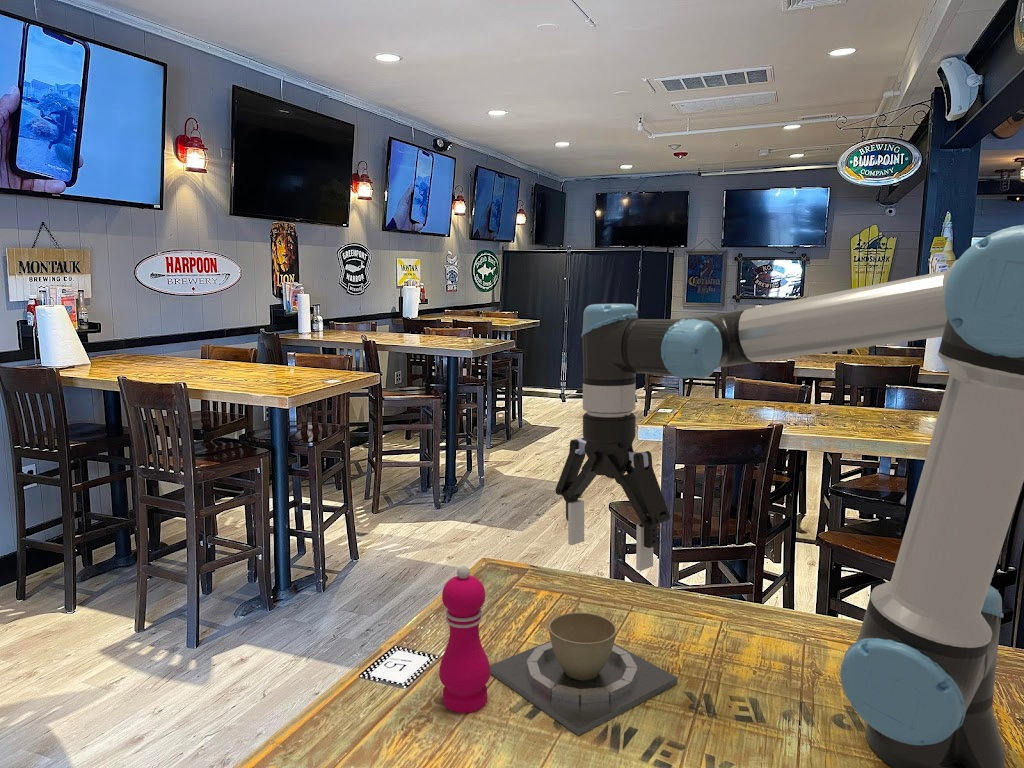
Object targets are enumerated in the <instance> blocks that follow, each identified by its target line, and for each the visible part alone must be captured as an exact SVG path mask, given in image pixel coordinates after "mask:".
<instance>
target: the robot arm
mask: <svg viewBox="0 0 1024 768" xmlns="http://www.w3.org/2000/svg"><path fill="white" fill-rule="evenodd" d="M582 317H583V318H582V332H581V335H580V336H581V344H582V345H581V347H582V365H583V366H582V368H583V369H582V370H583V376H582V410H583V411H585V413H584V414H583V415H582V437H579V438H574V439H570V442H569V449H568V455H567V458H566V460H565V463H564V466H563V467H562V471H561V473H560V477H559V479H558V482H557V484H556V487H555V493H556V495H557V496H561V497H563V499H564V501H565V518H566V521H567V531H568V532H567V533H568V537H567V538H568V540H567V543H568V545H570V546H574V545H577V544H580V543H583V542H585V500H584V499H581V498H583V497H584V496H583V493H584V492H585V491H586V490H587V489H588V487H589V486H590V484H591V483H592V482H593V480H594V479H595V478H596V477H597V476H605V477H606V478H608V479H614V480H615V482H616V484H618V485H620V486H621V488H622V491H623V492H624V493H625V495H626V497H627V499H628V500H629V501H628V502H629V503H630V505H631V506H632V508H633V509H634V512H635V513H636V515H637V517H638V519H639V521H640V522H639V523H637V524H636V536H635V537H636V540H635V541H636V544H635V545H636V548H635V549H636V556H635V558H636V560H635V563H636V565H635V567H636V569H635V570H637V571H639V572H641V571H644V570H647V569H649V568H652V567H654V547H656V546H657V544H658V525H659V524H662V523H666V522H669V520H670V519H671V515H670V512H669V510H668V507H667V504H666V500H665V499H664V495H663V493H662V490H661V487H660V483H659V481H658V479H657V476H656V474H655V470H654V468H653V460H652V459H653V455H652V453H651V451H649V450H645V451H641V452H638V451H634V448H633V443H634V439H635V438H636V433H637V432H636V428H637V427H636V425H637V424H636V420H637V419H636V418H637V417H636V415H635V414H634V413H633V411H635V410H636V391H637V390H636V389H637V388H636V383H637V382H636V381H637V374H646V375H647V374H648V375H655V376H665V377H676V378H679V379H683V380H684V379H689V378H692V379H693V378H694V379H697V378H698V379H705V378H709V377H710V376H711V375H712V374H713V373H714V371H716V370H717V368H725V367H732V366H739V365H743V364H752V363H757V362H765V361H771V360H778V359H786V358H794V357H801V356H808V355H816V354H824V353H832V352H837V351H846V350H853V349H860V348H868V347H874V346H875V347H877V346H883V345H889V344H891V345H892V344H898V343H905V342H914V341H919V340H922V341H923V340H927V339H935V338H941V342H940V344H939V349H938V352H937V355H938V357H939V359H940V360H941V361H942V363H943V365H944V366H945V367H946V369H947V370H948V374H949V376H948V380H947V383H946V387H945V389H944V394H943V396H942V397H943V398H942V400H941V404H940V407H939V411H938V414H937V418H936V421H935V425H934V428H933V431H932V432H933V433H932V435H931V439H930V442H929V447H928V450H927V453H926V456H925V459H924V464H923V468H922V471H921V473H920V477H919V481H918V485H917V488H916V492H915V495H914V498H913V501H912V506H911V509H910V513H909V516H908V520H907V523H906V526H905V531H904V533H903V536H902V540H901V544H900V547H899V551H898V555H897V558H896V562H895V565H894V568H893V572H892V576H891V579H890V581H888V582H885V583H882V584H879V585H877V586H875V587H874V588H872V591H871V592H870V596H869V599H868V604H867V605H866V610H865V613H864V617H863V621H862V625H861V627H860V632H859V634H858V636H857V639H856V641H855V642H854V643H852V644H851V645H850V646H849V647H848V648H847V650H846V651H845V653H844V656H843V659H842V661H841V666H840V674H839V676H840V682H841V683H840V684H841V686H842V689H843V693H844V694H845V697H846V699H847V700H848V701H849V702H850V704H851V706H853V709H854V711H855V713H856V714H857V715H858V716H859V717H860V718H861V719H862V720H863V721H864V722H865V723H866V726H865V727H866V728H865V735H866V740H867V742H868V745H869V747H870V748H871V750H872V751H873V752H874V753H875V754H876V755H877V756H878V758H880V759H881V760H882V761H883V762H885V763H886V764H888V765H889V766H890V767H892V768H1005V760H1006V756H1005V755H1006V754H1005V749H1004V745H1003V742H1002V738H1001V734H1000V731H999V727H998V724H997V721H996V716H995V714H994V713H995V712H994V710H993V704H994V703H993V702H994V691H995V685H996V684H995V682H996V675H997V674H996V673H997V665H998V664H997V662H998V651H999V642H1000V641H999V640H1000V631H1001V622H1002V621H1001V619H1003V618H1004V616H1005V615H1004V613H1003V598H1002V596H1001V593H999V591H998V590H997V589H996V588H995V587H993V586H992V585H991V583H992V579H993V578H994V577H993V576H994V574H995V570H996V567H997V564H998V561H999V559H1000V558H999V557H1000V554H1001V552H1002V548H1003V545H1004V542H1005V539H1006V536H1007V533H1008V530H1009V528H1010V527H1009V526H1010V523H1011V521H1012V518H1013V514H1014V512H1015V509H1016V506H1017V503H1018V501H1019V496H1020V493H1021V491H1022V487H1023V483H1024V224H1022V225H1021V224H1020V225H1014V226H1010V227H1007V228H1003V229H999V230H997V231H995V232H992V233H990V234H989V235H987V236H985V237H983V238H982V239H980V240H978V241H976V242H975V243H973V245H971V246H970V247H969V248H967V249H966V250H965V251H964V252H963V253H962V255H961V256H959V258H958V259H956V260H955V261H954V262H953V263H952V264H951V265H950V267H948V269H946V270H943V271H938V272H933V273H927V274H923V275H917V276H913V277H907V278H903V279H897V280H892V281H888V282H880V283H877V284H871V285H867V286H866V285H865V286H861V287H855V288H851V289H846V290H840V291H835V292H830V293H826V294H825V293H824V294H819V295H815V296H809V297H805V298H799V299H793V300H788V301H783V302H778V303H772V304H768V305H763V306H758V307H752V308H747V309H743V310H736V311H731V312H726V313H721V314H715V315H707V316H697V317H683V318H682V317H681V318H670V319H668V318H667V319H665V318H662V319H661V318H656V319H655V318H654V319H653V318H652V319H651V318H650V319H649V318H647V319H645V318H639V317H638V314H637V307H636V305H634V304H632V303H595V304H593V303H592V304H590V305H587V306H586V307H585V308H584V311H583V316H582ZM586 457H587V460H586V461H585V462H584V460H585V458H586ZM583 463H584V464H583Z"/></svg>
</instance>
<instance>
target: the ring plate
mask: <svg viewBox="0 0 1024 768" xmlns="http://www.w3.org/2000/svg"><path fill="white" fill-rule="evenodd" d="M490 676H493V677H494V678H496V679H497V680H498V681H500V682H501V683H503V684H504V685H505V686H507V687H508V688H509V689H511V690H512V691H514V692H516V693H517V694H518V695H520V696H521V697H522V698H524V699H525V700H526V701H529V702H530V703H531V704H533V705H534V706H536V707H537V708H538V709H539V710H541V711H542V712H543V713H545V714H547V715H548V716H549V717H550V718H552V719H554V720H555V721H557V722H558V723H559V724H561V725H562V726H564V727H565V728H566V729H567V730H569V731H571V732H572V733H574V734H575V735H576V736H578V737H580V736H582V735H584V734H586V733H588V732H589V731H591V730H593V729H595V728H596V727H595V726H597V727H599V726H601V725H602V724H601V723H603V722H605V723H606V722H608V721H610V720H612V719H614V718H616V717H617V715H618V716H619V714H620V715H621V713H622V714H623V713H625V712H627V711H629V710H631V709H633V708H635V707H637V706H638V705H640V704H642V703H644V702H646V701H648V700H649V699H651V698H653V697H655V696H657V695H659V694H661V693H663V692H666V690H669V689H670V688H673V687H674V686H676V685H678V681H679V680H678V679H679V678H678V676H676V675H674V674H672V673H670V672H669V671H667V670H665V669H663V668H660V667H659V666H657V665H655V664H653V663H651V662H649V661H647V660H646V659H644V658H642V657H640V656H638V655H637V654H635V653H633V652H630V651H629V650H627V649H625V648H623V647H622V646H619V645H617V644H616V643H614V645H613V648H612V651H611V653H610V656H609V658H608V660H607V662H606V664H605V665H604V667H603V669H602V670H601V671H600V673H599V674H598V675H597V676H596V677H595V678H593V679H590V680H576V679H573V678H571V677H569V676H568V675H566V673H565V672H564V670H563V669H562V667H561V665H560V664H559V662H558V660H557V658H556V655H555V653H554V650H553V647H552V643H551V640H549V641H546V642H544V643H542V644H539V645H537V646H534V647H532V648H530V649H528V650H527V649H526V650H525V651H522V652H520V653H517V654H515V655H512V656H509V657H507V658H505V659H502V660H500V661H498V662H495V663H492V664H490ZM636 705H637V706H636ZM613 717H614V718H613ZM609 719H610V720H609ZM607 720H608V721H607ZM600 724H601V725H600ZM603 724H604V723H603ZM598 725H599V726H598ZM594 727H595V728H594ZM592 728H593V729H592ZM588 730H589V731H588ZM587 731H588V732H587ZM585 732H586V733H585ZM583 733H584V734H583Z"/></svg>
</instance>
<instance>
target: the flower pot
mask: <svg viewBox="0 0 1024 768" xmlns="http://www.w3.org/2000/svg"><path fill="white" fill-rule="evenodd" d="M616 626H617V625H615V623H614V622H613V621H611V620H610V619H609V618H607V617H605V616H602V615H601V614H597V613H591V612H583V611H580V612H577V611H576V612H568V613H562V614H559V615H557V616H555V617H554V618H552V619H551V620H550V621H549V624H548V632H549V638H550V641H551V643H552V647H553V650H554V653H555V655H556V658H557V660H558V662H559V664H560V665H561V667H562V669H563V670H564V672H565V673H566V675H568V676H569V677H571V678H573V679H576V680H590V679H593V678H595V677H596V676H597V675H598V674H599V673H600V671H601V670H602V669H603V667H604V665H605V664H606V662H607V660H608V658H609V656H610V653H611V651H612V648H613V645H614V644H615V641H616V637H617V636H616V635H617V627H616Z"/></svg>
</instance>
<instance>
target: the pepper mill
mask: <svg viewBox="0 0 1024 768" xmlns="http://www.w3.org/2000/svg"><path fill="white" fill-rule="evenodd" d="M456 573H457V574H456V576H453V577H452V578H450V579H448V580H447V582H446V583H445V584H444V586H443V589H442V592H441V593H442V594H441V599H442V603H443V605H444V606H445V607H444V608H446V612H445V616H446V618H445V621H446V624H447V625H449V637H448V641H447V645H446V648H445V650H444V651H443V655H442V656H441V660H440V663H439V674H438V675H439V680H440V682H441V684H442V686H444V687H443V689H442V702H443V705H444V706H445V707H446V708H447V709H448V710H449V711H452V712H455V713H460V714H467V713H474V712H477V711H479V710H480V709H483V707H484V706H485V705H486V704H487V702H488V687H487V684H488V682H489V680H490V677H491V674H490V665H491V664H490V662H489V658H488V656H487V653H486V652H485V650H484V647H483V645H482V642H481V639H480V632H479V631H480V629H479V626H480V623H481V622H482V621H483V617H482V614H483V610H482V609H481V608H482V607H483V605H484V603H485V601H486V590H485V587H484V585H483V583H482V582H481V580H479V578H477V577H475V576H473V575H470V574H471V571H470V569H469V567H467V566H464V565H463V566H460V567H459V568H457V570H456Z"/></svg>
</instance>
